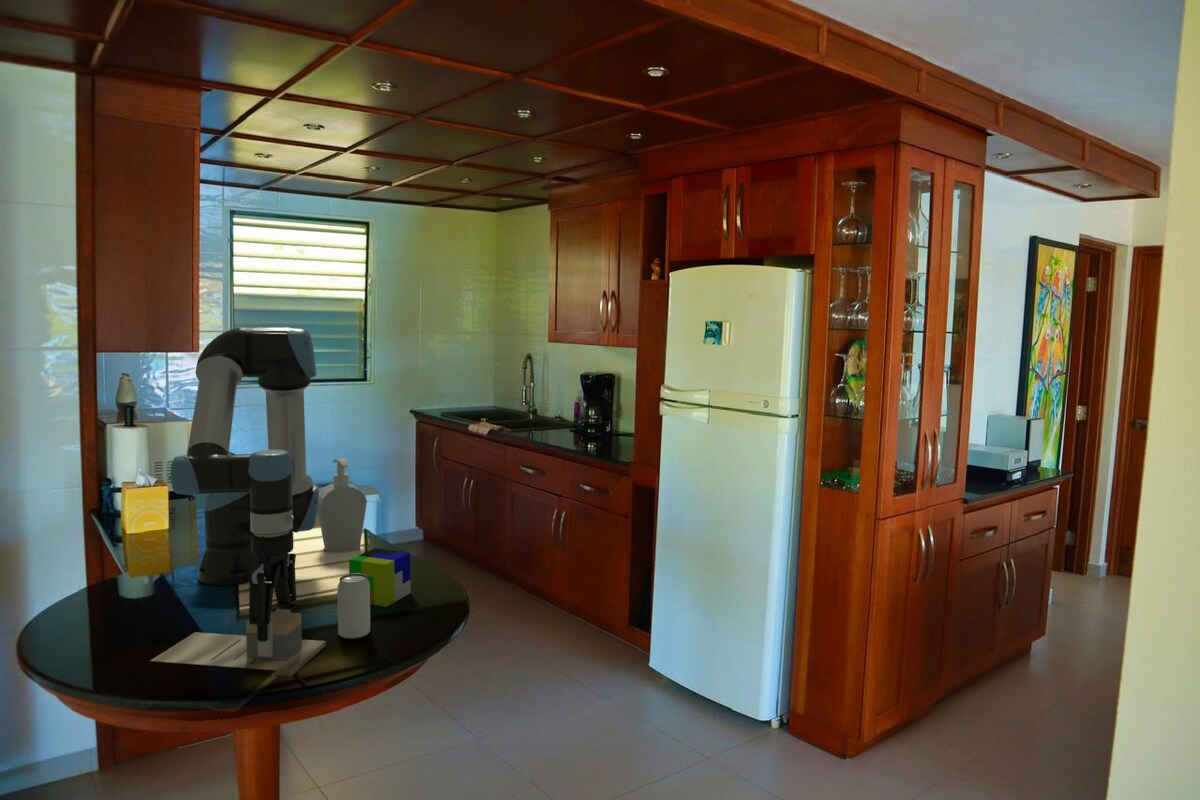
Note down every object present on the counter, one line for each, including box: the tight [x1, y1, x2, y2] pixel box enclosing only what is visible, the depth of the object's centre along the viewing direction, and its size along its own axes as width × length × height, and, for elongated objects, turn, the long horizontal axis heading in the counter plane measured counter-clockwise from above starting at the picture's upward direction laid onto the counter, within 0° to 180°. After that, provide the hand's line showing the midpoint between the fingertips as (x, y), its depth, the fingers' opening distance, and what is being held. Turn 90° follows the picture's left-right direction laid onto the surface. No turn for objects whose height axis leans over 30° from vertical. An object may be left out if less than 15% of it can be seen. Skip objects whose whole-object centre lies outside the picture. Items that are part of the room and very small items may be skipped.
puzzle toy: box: [348, 547, 411, 608], centre depth 192 cm, size 10×10×10 cm
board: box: [149, 631, 327, 677], centre depth 158 cm, size 28×14×1 cm, turn 83°
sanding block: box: [245, 611, 303, 661], centre depth 157 cm, size 8×6×7 cm
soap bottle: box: [317, 458, 368, 554], centre depth 228 cm, size 12×10×26 cm
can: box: [336, 573, 371, 640], centre depth 170 cm, size 6×6×12 cm
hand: (274, 648), depth 157 cm, fingers closed on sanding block, 6 cm apart
